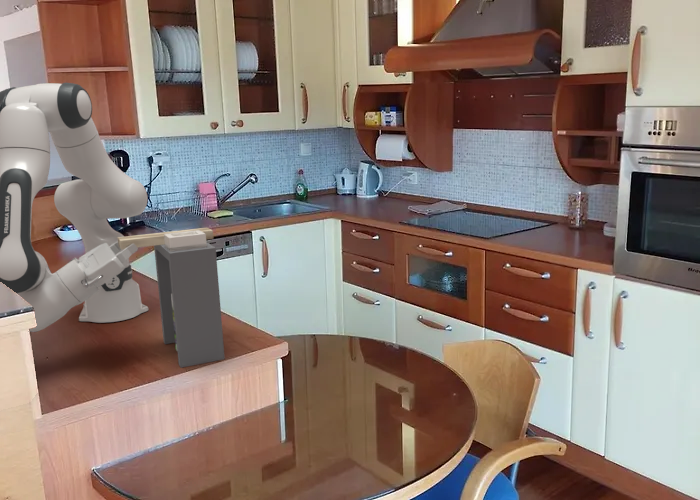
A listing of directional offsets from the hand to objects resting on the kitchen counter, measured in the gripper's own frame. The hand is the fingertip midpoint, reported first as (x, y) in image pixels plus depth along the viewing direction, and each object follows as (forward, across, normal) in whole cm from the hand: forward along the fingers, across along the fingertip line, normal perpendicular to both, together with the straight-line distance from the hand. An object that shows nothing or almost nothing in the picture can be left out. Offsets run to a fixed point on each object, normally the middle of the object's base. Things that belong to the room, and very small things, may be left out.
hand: (132, 242), depth 152 cm
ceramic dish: (+8, -9, +6) cm, 14 cm away
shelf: (-4, -4, +28) cm, 29 cm away
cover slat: (+6, 0, +5) cm, 8 cm away
